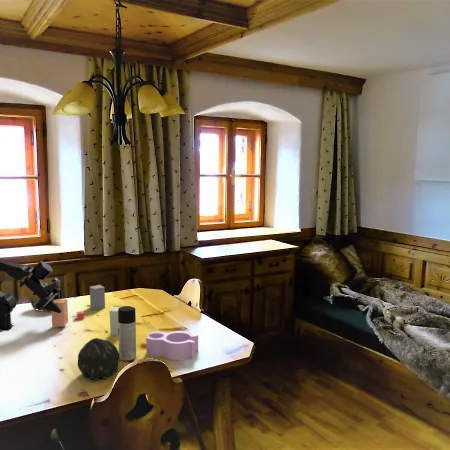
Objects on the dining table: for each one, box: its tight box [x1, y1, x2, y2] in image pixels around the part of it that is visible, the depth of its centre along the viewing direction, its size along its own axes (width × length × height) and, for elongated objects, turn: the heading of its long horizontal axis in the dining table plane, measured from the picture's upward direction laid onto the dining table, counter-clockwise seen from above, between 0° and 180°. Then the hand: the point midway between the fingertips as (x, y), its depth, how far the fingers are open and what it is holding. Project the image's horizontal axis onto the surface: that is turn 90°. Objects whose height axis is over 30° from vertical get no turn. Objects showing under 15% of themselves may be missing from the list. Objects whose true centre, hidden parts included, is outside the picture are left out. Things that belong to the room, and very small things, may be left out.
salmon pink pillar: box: [50, 298, 69, 327], centre depth 212 cm, size 6×6×11 cm
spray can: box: [117, 305, 137, 362], centre depth 181 cm, size 7×7×20 cm
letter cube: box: [76, 310, 85, 320], centre depth 225 cm, size 3×3×3 cm
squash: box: [77, 337, 120, 381], centre depth 167 cm, size 14×15×15 cm
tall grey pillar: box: [89, 284, 106, 311], centre depth 240 cm, size 6×6×11 cm
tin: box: [30, 295, 52, 313], centre depth 235 cm, size 15×3×8 cm, turn 73°
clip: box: [145, 330, 199, 361], centre depth 186 cm, size 20×12×7 cm, turn 80°
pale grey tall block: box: [109, 306, 121, 336], centre depth 206 cm, size 6×6×11 cm
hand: (62, 310), depth 212 cm, fingers closed on salmon pink pillar, 5 cm apart
